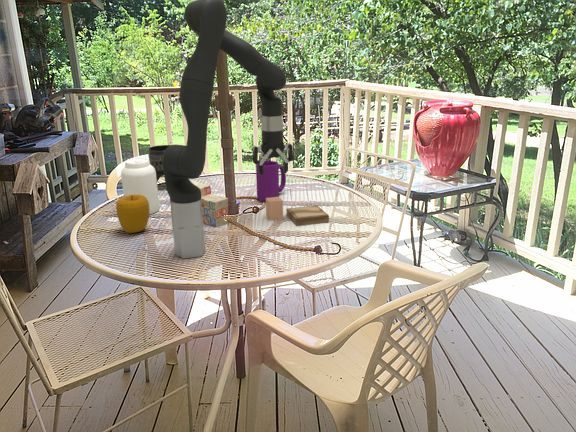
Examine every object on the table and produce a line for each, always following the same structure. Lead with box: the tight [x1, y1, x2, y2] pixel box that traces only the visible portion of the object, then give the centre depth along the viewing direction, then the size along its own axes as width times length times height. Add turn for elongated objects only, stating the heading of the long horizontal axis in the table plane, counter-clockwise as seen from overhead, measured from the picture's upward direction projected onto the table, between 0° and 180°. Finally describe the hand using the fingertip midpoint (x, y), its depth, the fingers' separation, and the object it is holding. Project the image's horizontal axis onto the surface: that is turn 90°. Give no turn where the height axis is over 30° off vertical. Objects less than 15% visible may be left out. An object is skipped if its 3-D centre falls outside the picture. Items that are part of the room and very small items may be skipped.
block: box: [265, 196, 284, 221], centre depth 181 cm, size 5×5×7 cm
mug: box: [255, 160, 287, 203], centre depth 203 cm, size 9×16×15 cm, turn 142°
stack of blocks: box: [189, 179, 230, 228], centre depth 180 cm, size 21×6×12 cm, turn 48°
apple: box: [115, 195, 150, 234], centre depth 169 cm, size 11×11×13 cm
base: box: [286, 205, 330, 227], centre depth 180 cm, size 12×12×3 cm
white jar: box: [120, 157, 160, 215], centre depth 187 cm, size 12×12×20 cm
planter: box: [147, 144, 171, 183], centre depth 217 cm, size 13×13×18 cm
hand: (273, 174), depth 177 cm, fingers open, 8 cm apart
